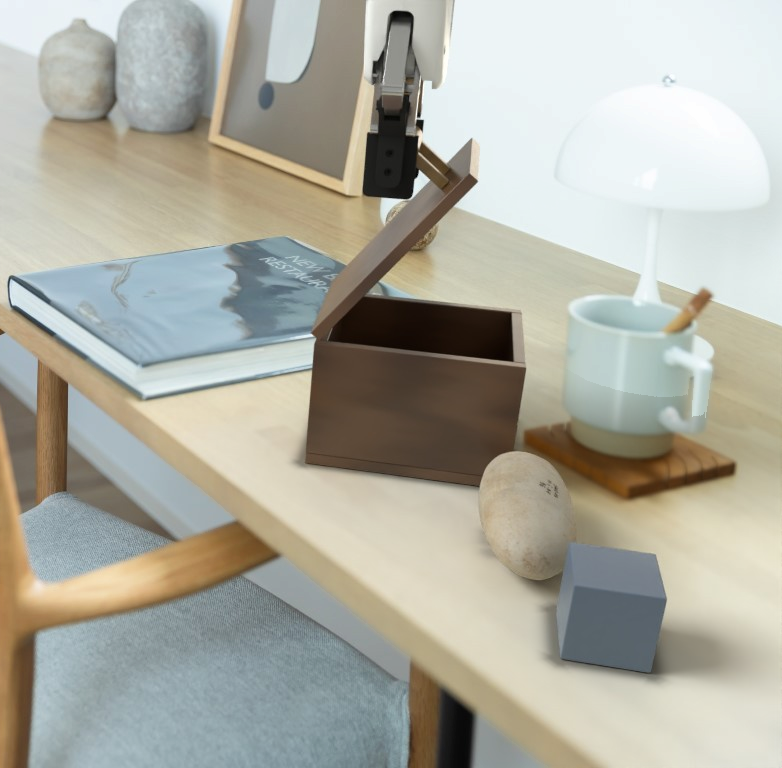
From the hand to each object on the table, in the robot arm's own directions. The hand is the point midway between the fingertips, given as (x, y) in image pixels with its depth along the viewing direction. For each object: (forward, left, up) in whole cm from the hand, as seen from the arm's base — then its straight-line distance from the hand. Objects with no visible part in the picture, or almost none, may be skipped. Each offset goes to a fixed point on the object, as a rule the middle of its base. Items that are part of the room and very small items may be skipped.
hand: (391, 184), depth 78 cm
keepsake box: (-3, 0, -18) cm, 19 cm away
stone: (-10, +13, -19) cm, 25 cm away
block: (-15, +22, -18) cm, 32 cm away
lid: (-1, 0, -4) cm, 4 cm away
